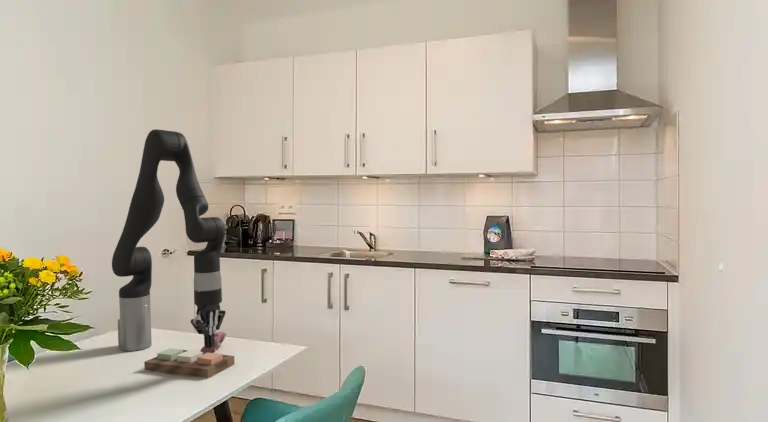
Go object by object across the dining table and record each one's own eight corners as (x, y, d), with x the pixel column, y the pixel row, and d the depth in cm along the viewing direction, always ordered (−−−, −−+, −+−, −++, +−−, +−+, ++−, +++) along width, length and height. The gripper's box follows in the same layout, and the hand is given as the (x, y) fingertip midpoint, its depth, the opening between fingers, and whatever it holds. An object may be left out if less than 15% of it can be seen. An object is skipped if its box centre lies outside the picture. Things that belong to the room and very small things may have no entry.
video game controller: (211, 360, 161) (220, 340, 161) (198, 353, 161) (207, 333, 161) (221, 350, 171) (230, 331, 171) (209, 344, 171) (218, 325, 171)
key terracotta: (196, 366, 146) (196, 357, 146) (208, 360, 151) (208, 352, 151) (211, 367, 144) (211, 359, 144) (222, 362, 149) (222, 354, 149)
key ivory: (176, 363, 148) (176, 355, 148) (188, 358, 153) (188, 350, 153) (191, 365, 147) (190, 357, 146) (202, 359, 151) (202, 351, 151)
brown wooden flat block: (144, 370, 148) (144, 360, 148) (174, 357, 159) (174, 348, 159) (208, 378, 141) (207, 367, 140) (234, 364, 152) (234, 354, 152)
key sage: (157, 361, 151) (157, 353, 150) (170, 356, 155) (169, 348, 155) (171, 363, 149) (171, 354, 149) (183, 357, 154) (183, 349, 154)
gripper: (211, 282, 154) (213, 339, 155) (180, 290, 142) (182, 353, 142) (232, 283, 152) (234, 341, 152) (203, 292, 139) (205, 355, 140)
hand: (209, 347), depth 147 cm, fingers closed
